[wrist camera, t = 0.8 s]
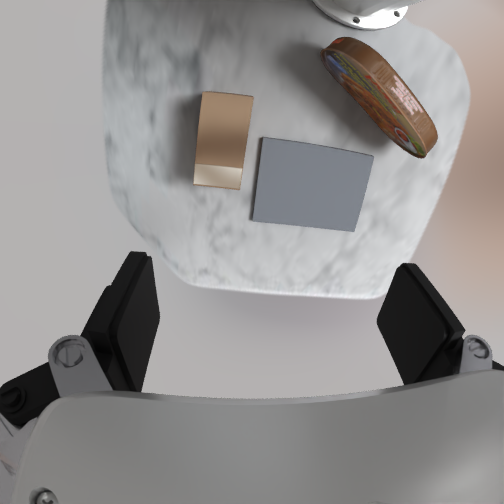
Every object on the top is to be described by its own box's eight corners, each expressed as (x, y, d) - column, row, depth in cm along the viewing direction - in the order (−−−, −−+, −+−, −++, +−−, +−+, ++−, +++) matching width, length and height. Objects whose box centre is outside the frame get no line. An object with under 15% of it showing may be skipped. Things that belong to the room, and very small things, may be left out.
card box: (209, 91, 27) (202, 91, 22) (252, 95, 28) (253, 97, 23) (200, 169, 32) (192, 185, 27) (240, 173, 32) (239, 190, 27)
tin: (310, 56, 25) (333, 46, 18) (329, 38, 24) (357, 25, 17) (396, 150, 31) (434, 171, 23) (413, 134, 29) (453, 151, 22)
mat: (262, 137, 30) (263, 137, 29) (372, 155, 31) (374, 156, 30) (252, 219, 35) (252, 221, 35) (352, 229, 36) (354, 231, 36)
